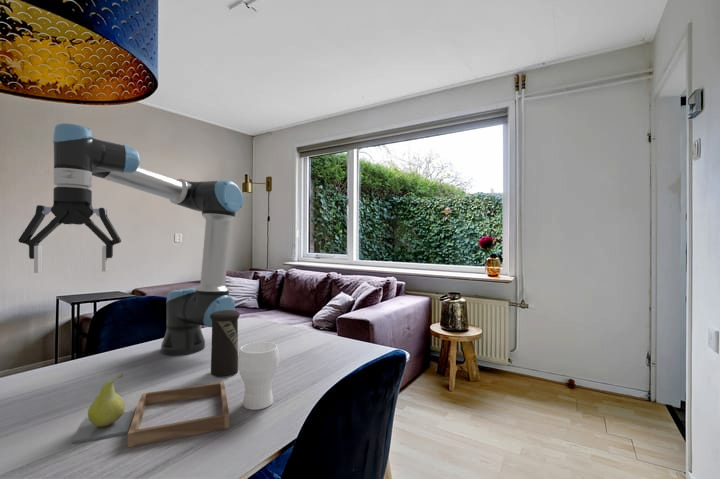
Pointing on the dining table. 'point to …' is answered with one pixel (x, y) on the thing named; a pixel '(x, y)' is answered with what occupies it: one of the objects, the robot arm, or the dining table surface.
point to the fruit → (106, 406)
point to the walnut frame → (179, 428)
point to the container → (224, 343)
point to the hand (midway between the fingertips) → (72, 271)
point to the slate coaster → (104, 428)
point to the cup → (258, 373)
